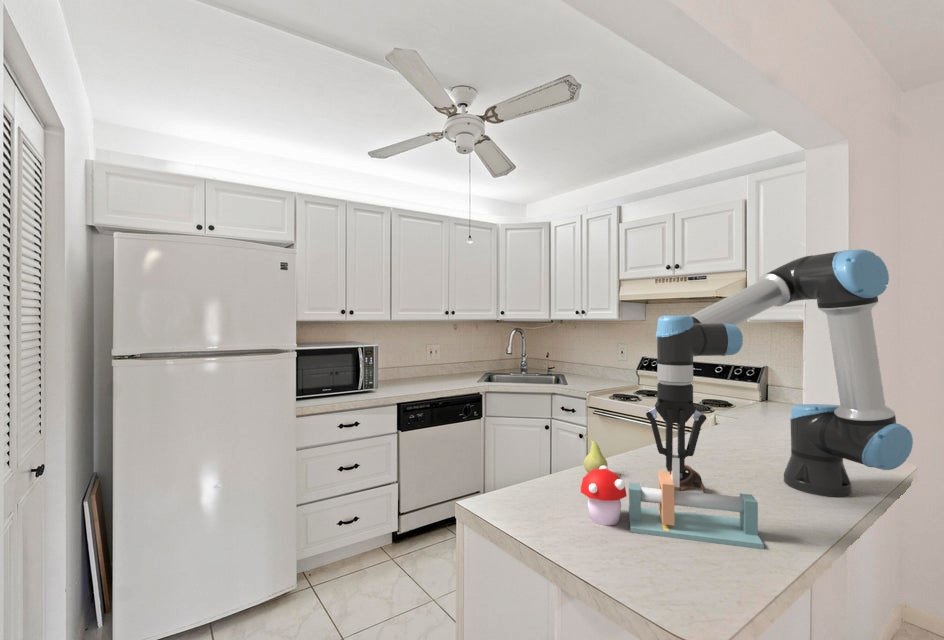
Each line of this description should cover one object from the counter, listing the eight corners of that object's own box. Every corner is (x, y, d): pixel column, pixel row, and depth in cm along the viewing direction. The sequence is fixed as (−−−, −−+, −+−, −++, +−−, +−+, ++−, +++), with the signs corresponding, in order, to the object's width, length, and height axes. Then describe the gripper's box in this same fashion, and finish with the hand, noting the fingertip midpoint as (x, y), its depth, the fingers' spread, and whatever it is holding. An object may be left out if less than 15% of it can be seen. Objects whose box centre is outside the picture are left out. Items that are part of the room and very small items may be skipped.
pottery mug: (714, 500, 119) (703, 475, 118) (680, 513, 121) (668, 489, 119) (694, 473, 131) (684, 450, 129) (663, 486, 133) (653, 463, 131)
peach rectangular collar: (669, 508, 108) (669, 471, 108) (674, 525, 100) (674, 485, 100) (658, 507, 109) (658, 470, 109) (662, 524, 100) (662, 483, 100)
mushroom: (620, 534, 100) (620, 480, 100) (573, 522, 106) (572, 471, 106) (631, 515, 109) (631, 466, 109) (587, 506, 115) (587, 459, 115)
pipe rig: (746, 523, 105) (746, 488, 105) (763, 549, 93) (763, 509, 93) (628, 509, 113) (628, 477, 112) (630, 532, 101) (630, 495, 101)
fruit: (599, 481, 132) (599, 440, 132) (577, 474, 138) (577, 435, 138) (611, 475, 137) (611, 436, 136) (590, 469, 142) (590, 431, 142)
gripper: (703, 381, 105) (703, 482, 105) (643, 379, 109) (643, 476, 109) (709, 386, 98) (710, 494, 98) (645, 383, 102) (646, 487, 102)
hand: (675, 484), depth 104 cm, fingers closed
